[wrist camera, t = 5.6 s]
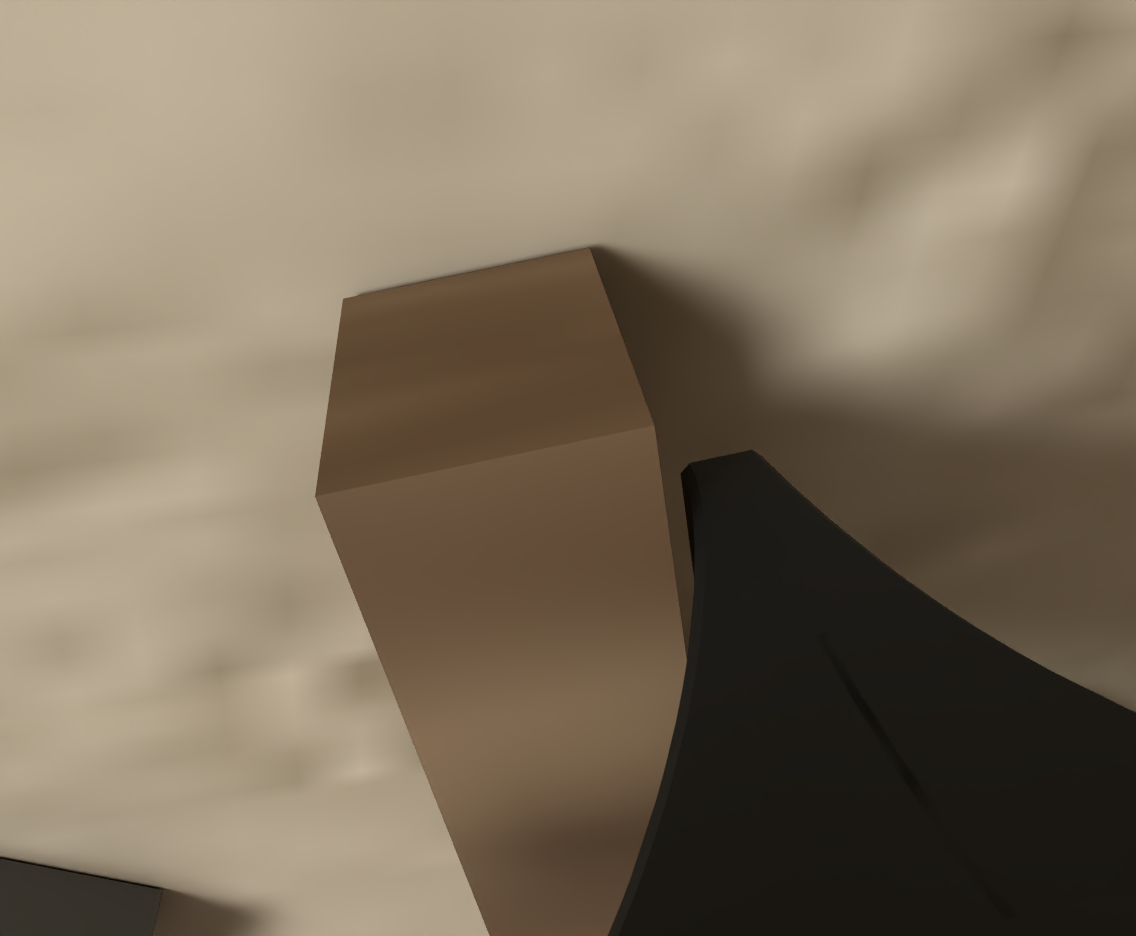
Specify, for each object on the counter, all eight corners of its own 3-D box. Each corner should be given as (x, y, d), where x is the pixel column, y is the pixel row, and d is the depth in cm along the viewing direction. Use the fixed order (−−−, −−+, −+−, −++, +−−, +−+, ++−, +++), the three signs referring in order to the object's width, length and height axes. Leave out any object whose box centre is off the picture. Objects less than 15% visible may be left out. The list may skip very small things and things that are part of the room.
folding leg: (710, 958, 22) (765, 1182, 18) (565, 989, 21) (593, 1219, 18) (597, 246, 12) (670, 435, 8) (335, 300, 12) (301, 512, 8)
